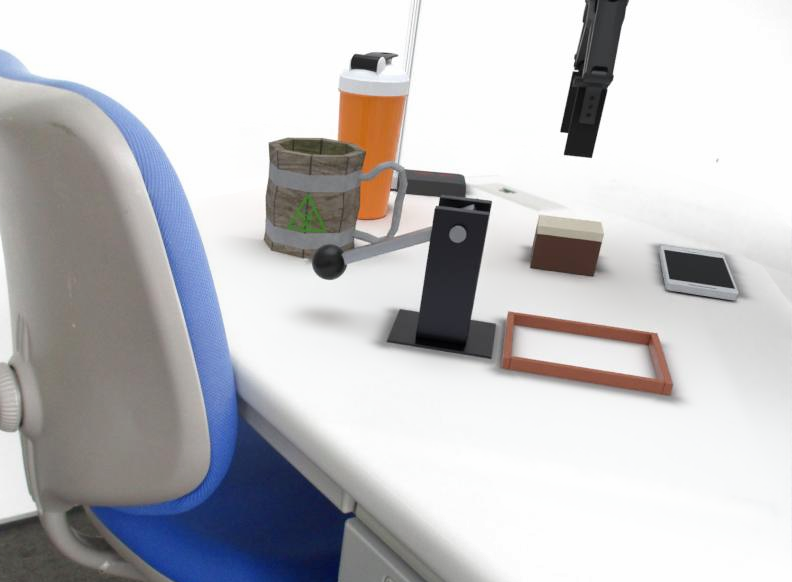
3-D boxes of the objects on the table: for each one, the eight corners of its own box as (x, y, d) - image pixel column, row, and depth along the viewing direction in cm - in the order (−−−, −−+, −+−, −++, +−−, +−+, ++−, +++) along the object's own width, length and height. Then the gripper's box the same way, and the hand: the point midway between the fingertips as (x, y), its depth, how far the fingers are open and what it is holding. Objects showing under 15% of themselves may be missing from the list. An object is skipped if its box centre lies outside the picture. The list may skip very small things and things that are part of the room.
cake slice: (591, 263, 103) (601, 221, 100) (593, 276, 98) (604, 233, 96) (530, 255, 104) (539, 214, 102) (529, 267, 100) (538, 225, 98)
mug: (253, 261, 97) (259, 152, 91) (269, 234, 106) (275, 133, 101) (395, 277, 95) (410, 165, 89) (398, 248, 104) (412, 145, 99)
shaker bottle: (401, 210, 120) (421, 54, 110) (381, 225, 112) (401, 60, 103) (340, 200, 123) (354, 48, 114) (317, 214, 116) (331, 53, 106)
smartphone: (721, 260, 106) (723, 252, 105) (737, 301, 93) (739, 293, 93) (658, 251, 108) (660, 244, 107) (665, 290, 95) (667, 282, 95)
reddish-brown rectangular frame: (651, 353, 80) (657, 332, 79) (666, 406, 70) (673, 384, 69) (504, 330, 83) (508, 310, 82) (499, 378, 73) (503, 357, 72)
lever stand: (385, 352, 77) (404, 209, 71) (398, 320, 84) (416, 187, 78) (489, 369, 75) (517, 223, 69) (493, 335, 82) (520, 199, 76)
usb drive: (464, 198, 127) (468, 179, 126) (382, 191, 129) (384, 172, 127) (463, 190, 132) (466, 171, 130) (384, 183, 133) (386, 165, 132)
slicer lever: (314, 288, 79) (303, 255, 78) (322, 277, 81) (311, 245, 80) (480, 243, 73) (470, 207, 72) (483, 233, 75) (473, 198, 74)
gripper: (578, -79, 95) (538, 121, 105) (591, -91, 74) (539, 163, 84) (651, -76, 93) (603, 128, 103) (686, -87, 72) (621, 171, 82)
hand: (574, 144), depth 93 cm, fingers open, 13 cm apart
